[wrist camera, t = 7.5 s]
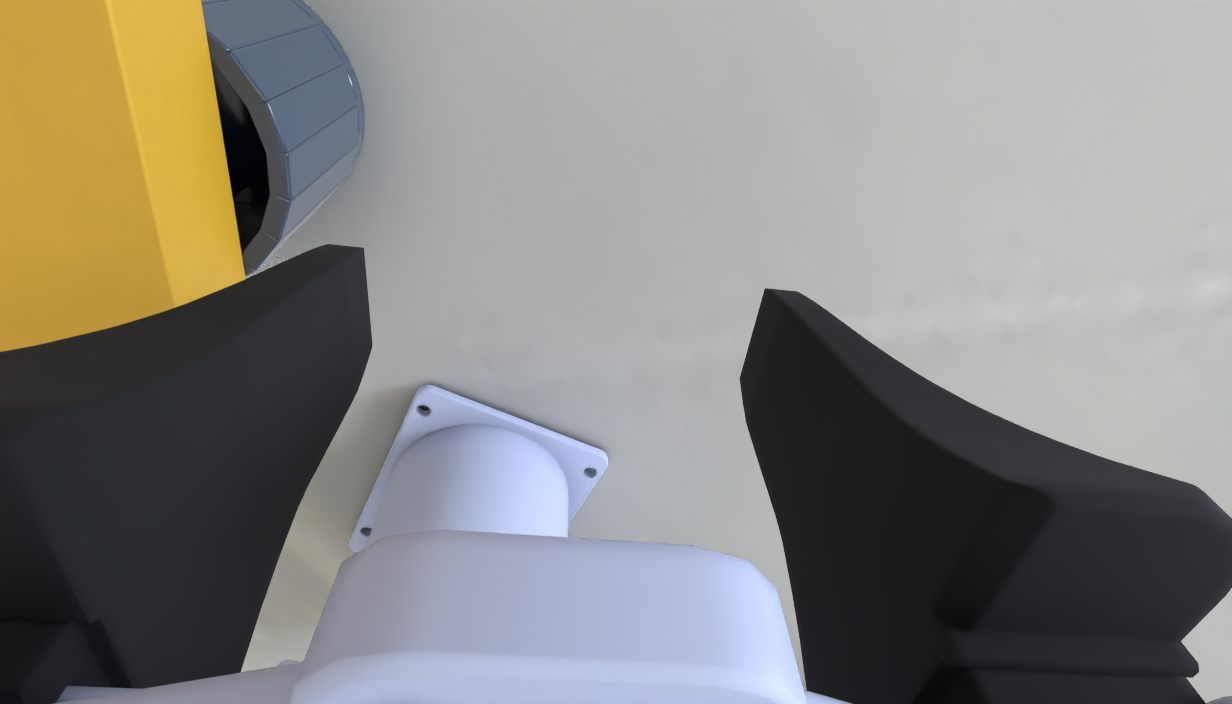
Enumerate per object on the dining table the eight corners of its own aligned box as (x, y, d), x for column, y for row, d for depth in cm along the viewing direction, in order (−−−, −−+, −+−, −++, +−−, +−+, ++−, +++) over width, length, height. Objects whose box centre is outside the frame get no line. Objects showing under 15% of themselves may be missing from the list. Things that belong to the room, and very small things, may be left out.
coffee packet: (258, 354, 17) (202, 424, 15) (72, 337, 17) (-19, 406, 14) (186, -107, 12) (80, -120, 10) (-83, -149, 12) (-267, -176, 9)
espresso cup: (328, 248, 22) (251, 338, 17) (98, 151, 20) (-65, 219, 15) (395, 44, 19) (326, 80, 14) (132, -93, 17) (-58, -110, 12)
